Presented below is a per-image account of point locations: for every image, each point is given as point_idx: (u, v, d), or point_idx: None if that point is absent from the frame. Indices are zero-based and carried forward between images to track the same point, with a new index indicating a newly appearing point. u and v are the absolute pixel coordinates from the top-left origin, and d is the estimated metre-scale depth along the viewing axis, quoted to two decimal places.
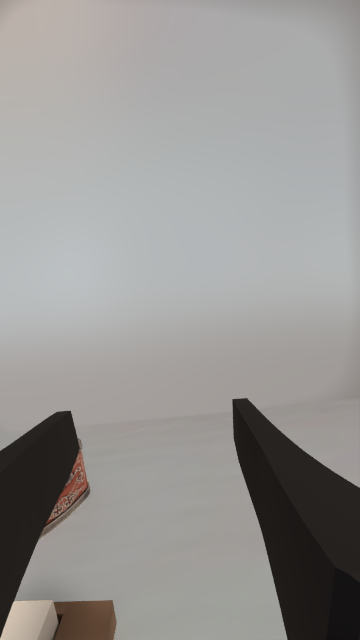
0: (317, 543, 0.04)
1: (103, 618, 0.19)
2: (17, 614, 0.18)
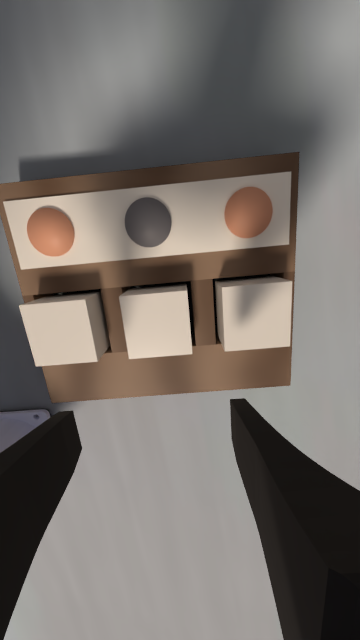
0: (311, 544, 0.04)
1: (276, 381, 0.18)
2: (278, 312, 0.14)
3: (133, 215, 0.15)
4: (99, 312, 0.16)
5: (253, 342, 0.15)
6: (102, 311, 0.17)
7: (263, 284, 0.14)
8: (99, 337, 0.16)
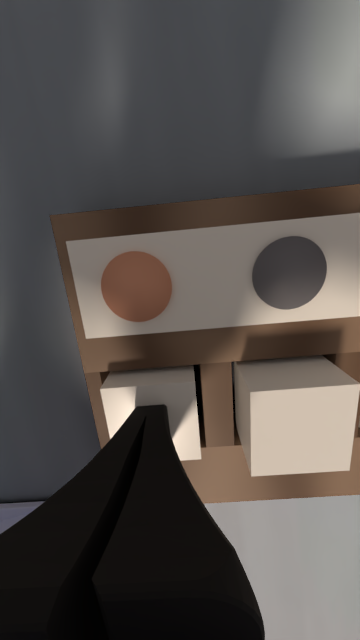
0: (104, 554, 0.04)
1: None
2: None
3: (265, 262, 0.09)
4: None
5: None
6: None
7: None
8: None
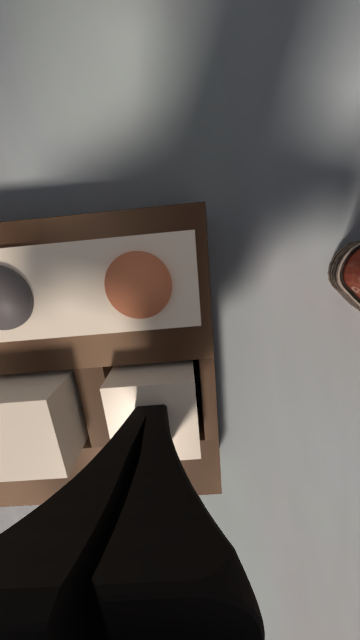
0: (104, 554, 0.04)
1: (202, 489, 0.13)
2: (180, 418, 0.10)
3: None
4: None
5: None
6: None
7: (156, 385, 0.10)
8: None
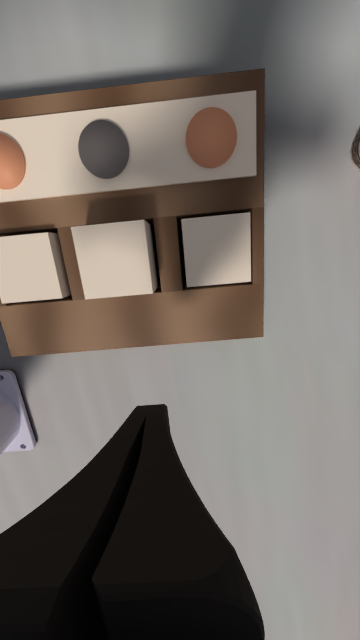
0: (104, 554, 0.04)
1: (248, 332, 0.17)
2: (238, 245, 0.14)
3: (87, 142, 0.14)
4: None
5: (214, 277, 0.15)
6: None
7: (222, 215, 0.14)
8: (65, 276, 0.16)
